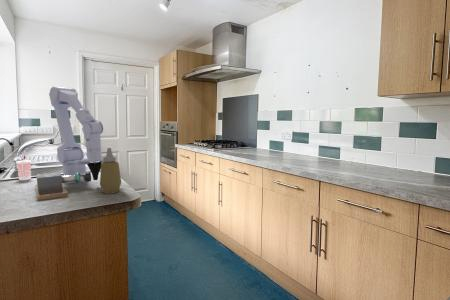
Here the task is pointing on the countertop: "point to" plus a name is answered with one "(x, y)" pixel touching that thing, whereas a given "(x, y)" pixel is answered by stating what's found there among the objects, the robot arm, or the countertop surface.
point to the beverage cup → (24, 169)
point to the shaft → (77, 178)
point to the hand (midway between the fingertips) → (95, 179)
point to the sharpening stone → (50, 186)
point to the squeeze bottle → (110, 174)
